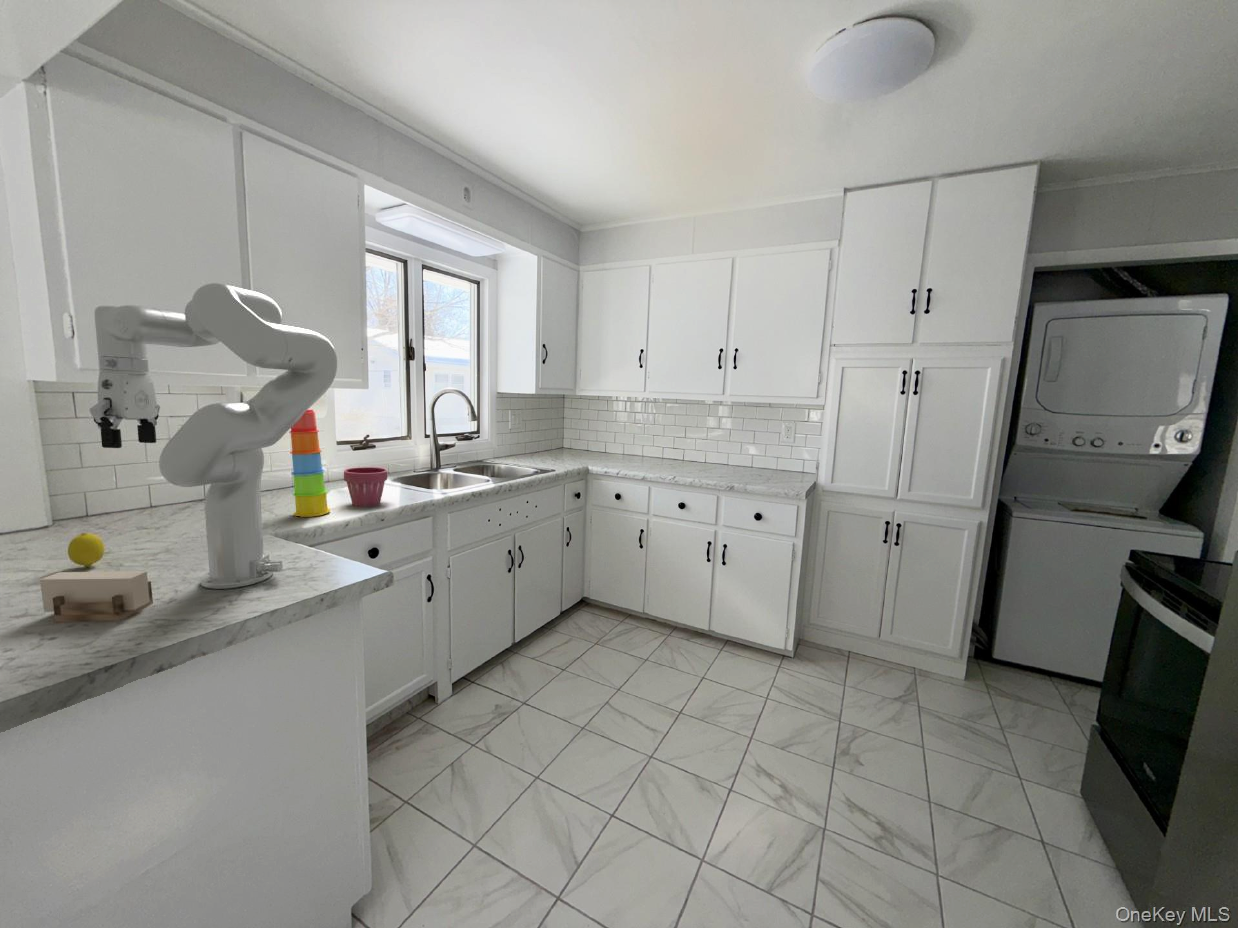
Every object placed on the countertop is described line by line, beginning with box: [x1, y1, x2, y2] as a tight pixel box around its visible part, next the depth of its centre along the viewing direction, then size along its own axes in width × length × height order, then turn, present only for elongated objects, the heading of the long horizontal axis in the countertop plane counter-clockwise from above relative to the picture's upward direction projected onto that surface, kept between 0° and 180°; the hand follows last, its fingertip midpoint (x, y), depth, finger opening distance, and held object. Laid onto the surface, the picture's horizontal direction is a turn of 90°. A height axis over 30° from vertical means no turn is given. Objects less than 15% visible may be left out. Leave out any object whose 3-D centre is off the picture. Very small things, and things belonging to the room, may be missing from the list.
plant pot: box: [343, 466, 388, 508], centre depth 178 cm, size 14×14×13 cm
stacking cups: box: [289, 409, 331, 518], centre depth 160 cm, size 10×10×35 cm
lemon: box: [67, 532, 106, 568], centre depth 109 cm, size 6×6×8 cm
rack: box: [52, 580, 154, 623], centre depth 89 cm, size 10×7×4 cm
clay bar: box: [39, 570, 150, 613], centre depth 89 cm, size 14×4×6 cm, turn 99°
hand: (130, 445), depth 107 cm, fingers open, 9 cm apart
